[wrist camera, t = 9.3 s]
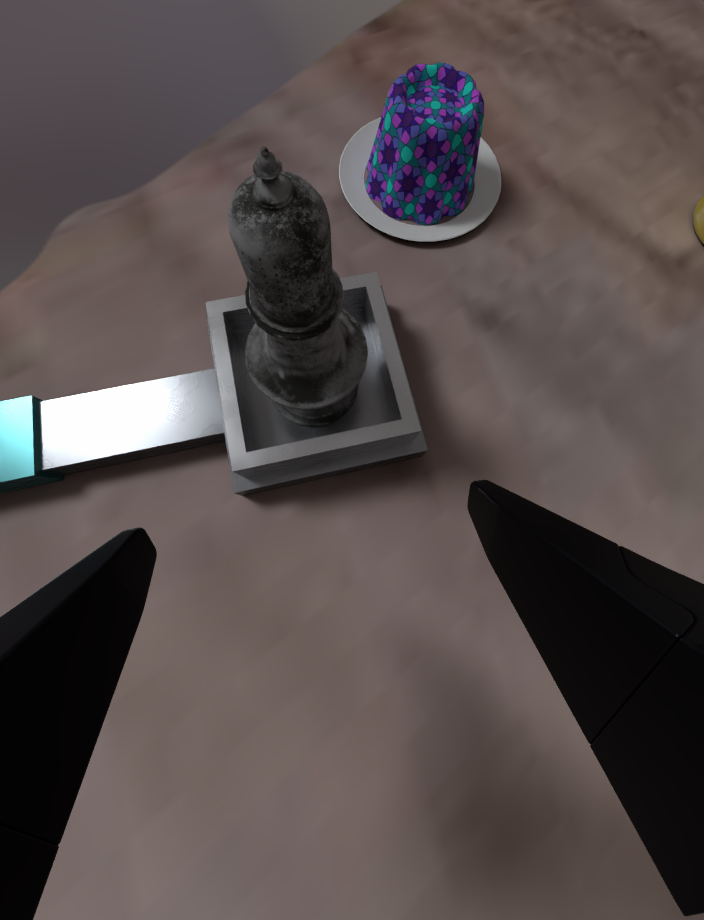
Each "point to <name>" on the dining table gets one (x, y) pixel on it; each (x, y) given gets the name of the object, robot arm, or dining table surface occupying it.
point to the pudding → (424, 158)
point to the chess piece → (294, 298)
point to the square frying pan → (223, 414)
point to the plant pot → (699, 219)
